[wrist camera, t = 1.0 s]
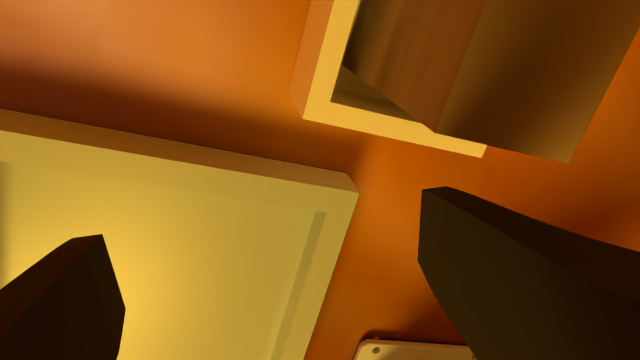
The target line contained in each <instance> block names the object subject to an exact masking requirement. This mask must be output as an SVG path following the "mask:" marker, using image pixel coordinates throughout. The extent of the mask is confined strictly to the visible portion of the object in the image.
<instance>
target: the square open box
mask: <svg viewBox="0 0 640 360" xmlns="http://www.w3.org/2000/svg"><path fill="white" fill-rule="evenodd" d="M360 3H361V0H311V3H310V7H309V11H308V15H307V19H306V23H305V27H304V31H303V35H302V39H301V43H300V47H299V51H298V55H297V59H296V63H295V67H294V71H293V75H292V79H291V83H290V87H289V91H288V93H289V95H290V97H291V99H292V100H293V102H294V104H295V106H296V108H297V110H298V111H299V113H300V115H301V117H302V119H306V120H311V121H315V122H320V123H325V124H329V125H334V126H338V127H343V128H347V129H352V130H357V131H361V132H366V133H370V134H375V135H379V136H384V137H389V138H393V139H398V140H402V141H407V142H411V143H416V144H421V145H425V146H430V147H434V148H439V149H443V150H448V151H453V152H457V153H462V154H466V155H471V156H475V157H480V158H482V156H483V153H484V151H485V149H486V146H487V145H485V144H480V143H476V142H471V141H467V140H463V139H458V138H454V137H450V136H445V135H441V134H437V133H434V132H433V131H431V130H430V129H429V128H427V127H426V126H425V125H423V124H422V123H420V122H419V121H418V120H416V119H415V118H414V117H412V116H411V115H410V114H408V113H407V112H405V111H404V110H403V109H401V108H400V107H399V106H397V105H396V104H395V103H393V102H392V101H391V100H389V99H388V98H386V97H385V96H384V95H382V94H381V93H380V92H378V91H377V90H376V89H374V88H373V87H372V86H370V85H369V84H367V83H366V82H365V81H363V80H362V79H361V78H359V77H358V76H357V75H355V74H354V73H352V72H351V71H350V70H348V69H347V68H346V67H344V66H343V61H344V58H345V54H346V51H347V48H348V44H349V41H350V37H351V34H352V30H353V27H354V23H355V20H356V16H357V13H358V9H359V6H360Z"/></svg>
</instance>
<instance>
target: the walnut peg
mask: <svg viewBox="0 0 640 360" xmlns="http://www.w3.org/2000/svg"><path fill="white" fill-rule="evenodd" d="M639 27H640V0H361V3H360V6H359V9H358V13H357V16H356V20H355V23H354V27H353V30H352V34H351V37H350V41H349V44H348V48H347V51H346V54H345V58H344V61H343V66H344V67H346V68H347V69H348V70H350V71H351V72H352V73H354V74H355V75H357V76H358V77H359V78H361V79H362V80H363V81H365V82H366V83H367V84H369V85H370V86H372V87H373V88H374V89H376V90H377V91H378V92H380V93H381V94H382V95H384V96H385V97H386V98H388V99H389V100H391V101H392V102H393V103H395V104H396V105H397V106H399V107H400V108H401V109H403V110H404V111H405V112H407V113H408V114H410V115H411V116H412V117H414V118H415V119H416V120H418V121H419V122H420V123H422V124H423V125H425V126H426V127H427V128H429V129H430V130H431V131H433V132H434V133H437V134H441V135H445V136H450V137H454V138H458V139H463V140H467V141H471V142H476V143H480V144H485V145H489V146H493V147H498V148H502V149H506V150H511V151H515V152H519V153H524V154H528V155H532V156H537V157H541V158H545V159H550V160H554V161H559V162H563V163H567V164H569V162H570V160H571V158H572V156H573V154H574V152H575V150H576V148H577V146H578V144H579V143H580V141H581V139H582V137H583V135H584V133H585V131H586V129H587V127H588V125H589V123H590V121H591V119H592V117H593V116H594V114H595V112H596V110H597V108H598V106H599V104H600V102H601V100H602V98H603V96H604V94H605V92H606V91H607V89H608V87H609V85H610V83H611V81H612V79H613V77H614V75H615V73H616V71H617V69H618V67H619V66H620V64H621V62H622V60H623V58H624V56H625V54H626V52H627V50H628V48H629V46H630V44H631V42H632V40H633V39H634V37H635V35H636V33H637V31H638V29H639Z"/></svg>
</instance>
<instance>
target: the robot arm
mask: <svg viewBox="0 0 640 360" xmlns="http://www.w3.org/2000/svg"><path fill="white" fill-rule="evenodd" d="M418 262H419V264H420V267H421V269H422V271H423V273H424V275H425V278H426V280H427V282H428V284H429V286H430V288H431V290H432V292H433V294H434V296H435V297H436V299H437V300H438V302H439V303H440V305H441V306H442V308H443V309H444V311H445V312H446V314H447V316H448V317H449V319H450V320H451V322H452V323H453V325H454V326H455V328H456V329H457V331H458V332H459V334H460V335H461V336H462V338H463V339H464V341H465V342H466V344H467V345H468V346H459V345H445V344H431V343H417V342H403V341H389V340H375V339H366V340H364V341H362V342H361V343H360V345H359V347H358V350H357V352H356V355H355V357H354V360H640V252H638V251H634V250H630V249H627V248H623V247H619V246H616V245H612V244H608V243H605V242H601V241H597V240H594V239H591V238H588V237H584V236H581V235H578V234H575V233H572V232H569V231H566V230H564V229H561V228H558V227H555V226H552V225H549V224H546V223H543V222H541V221H538V220H535V219H533V218H530V217H527V216H525V215H522V214H520V213H517V212H514V211H512V210H509V209H507V208H504V207H502V206H499V205H497V204H494V203H492V202H489V201H487V200H484V199H482V198H479V197H477V196H474V195H471V194H469V193H466V192H463V191H460V190H457V189H454V188H450V187H446V186H445V187H438V188H430V189H423V190H422V197H421V214H420V231H419V248H418ZM125 311H126V308H125V304H124V301H123V298H122V295H121V292H120V288H119V285H118V282H117V279H116V276H115V272H114V269H113V266H112V263H111V259H110V256H109V253H108V250H107V247H106V243H105V240H104V237H103V234H97V235H90V236H83V237H76V238H71V239H70V240H68V241H66V242H64V243H63V244H61V245H60V246H58V247H57V248H55V249H54V250H53V251H51V252H50V253H48V254H47V255H46V256H44V257H43V258H42V259H40V260H39V261H38V262H36V263H35V264H34V265H32V266H31V267H30V268H28V269H27V270H25V271H24V272H23V273H21V274H20V275H19V276H17V277H16V278H15V279H13V280H12V281H11V282H9V283H8V284H7V285H5V286H4V287H3V288H1V289H0V360H117V357H118V354H119V349H120V344H121V338H122V332H123V325H124V318H125ZM375 347H377V348H375ZM374 348H375V349H374Z"/></svg>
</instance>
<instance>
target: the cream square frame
mask: <svg viewBox="0 0 640 360" xmlns="http://www.w3.org/2000/svg"><path fill="white" fill-rule="evenodd" d="M359 194H360V193H359V191H358V190H357V188H356V186H355V185H354V183H353V182H352V180H351V178H350V177H349V175H348V174H347V173H343V172H338V171H332V170H327V169H322V168H316V167H311V166H305V165H300V164H295V163H289V162H284V161H279V160H273V159H268V158H263V157H257V156H252V155H247V154H241V153H236V152H231V151H225V150H220V149H215V148H209V147H204V146H199V145H193V144H188V143H183V142H177V141H172V140H166V139H161V138H156V137H150V136H145V135H140V134H134V133H129V132H124V131H118V130H113V129H108V128H102V127H97V126H92V125H86V124H81V123H76V122H70V121H65V120H60V119H54V118H49V117H43V116H38V115H33V114H27V113H22V112H17V111H11V110H6V109H1V108H0V289H1V288H3V287H4V286H5V285H7V284H8V283H9V282H11V281H12V280H13V279H15V278H16V277H17V276H19V275H20V274H21V273H23V272H24V271H25V270H27V269H28V268H30V267H31V266H32V265H34V264H35V263H36V262H38V261H39V260H40V259H42V258H43V257H44V256H46V255H47V254H48V253H50V252H51V251H53V250H54V249H55V248H57V247H58V246H60V245H61V244H63V243H64V242H66V241H68V240H70V239H71V238H76V237H83V236H90V235H97V234H103V237H104V240H105V243H106V247H107V250H108V253H109V256H110V259H111V263H112V266H113V269H114V272H115V276H116V279H117V282H118V285H119V288H120V292H121V295H122V298H123V301H124V304H125V308H126V311H125V318H124V325H123V332H122V338H121V344H120V349H119V354H118V357H117V360H303V359H304V356H305V353H306V350H307V347H308V344H309V341H310V338H311V335H312V332H313V329H314V326H315V323H316V320H317V317H318V314H319V311H320V308H321V306H322V303H323V300H324V297H325V294H326V291H327V288H328V285H329V282H330V279H331V276H332V273H333V270H334V267H335V264H336V261H337V258H338V255H339V252H340V250H341V247H342V244H343V241H344V238H345V235H346V232H347V229H348V226H349V223H350V220H351V217H352V214H353V211H354V208H355V205H356V202H357V199H358V196H359Z"/></svg>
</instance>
